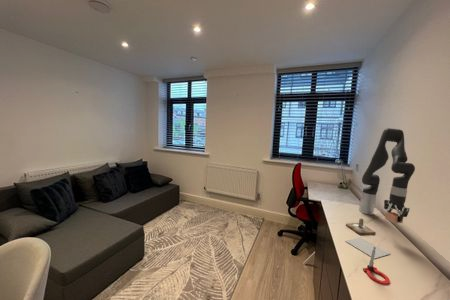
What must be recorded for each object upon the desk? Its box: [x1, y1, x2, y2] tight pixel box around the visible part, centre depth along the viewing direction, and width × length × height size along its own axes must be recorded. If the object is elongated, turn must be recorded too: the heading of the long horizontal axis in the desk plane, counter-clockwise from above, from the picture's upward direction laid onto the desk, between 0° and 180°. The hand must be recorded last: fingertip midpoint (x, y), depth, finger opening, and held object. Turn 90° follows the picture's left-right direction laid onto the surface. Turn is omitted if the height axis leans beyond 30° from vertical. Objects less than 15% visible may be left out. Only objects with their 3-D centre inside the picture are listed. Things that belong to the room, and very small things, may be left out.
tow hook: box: [362, 247, 391, 286], centre depth 90 cm, size 8×13×9 cm
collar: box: [384, 211, 404, 224], centre depth 123 cm, size 6×6×4 cm
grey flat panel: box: [345, 237, 391, 259], centre depth 112 cm, size 23×25×1 cm
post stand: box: [345, 218, 376, 236], centre depth 134 cm, size 12×12×8 cm
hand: (393, 219), depth 123 cm, fingers closed on collar, 6 cm apart
